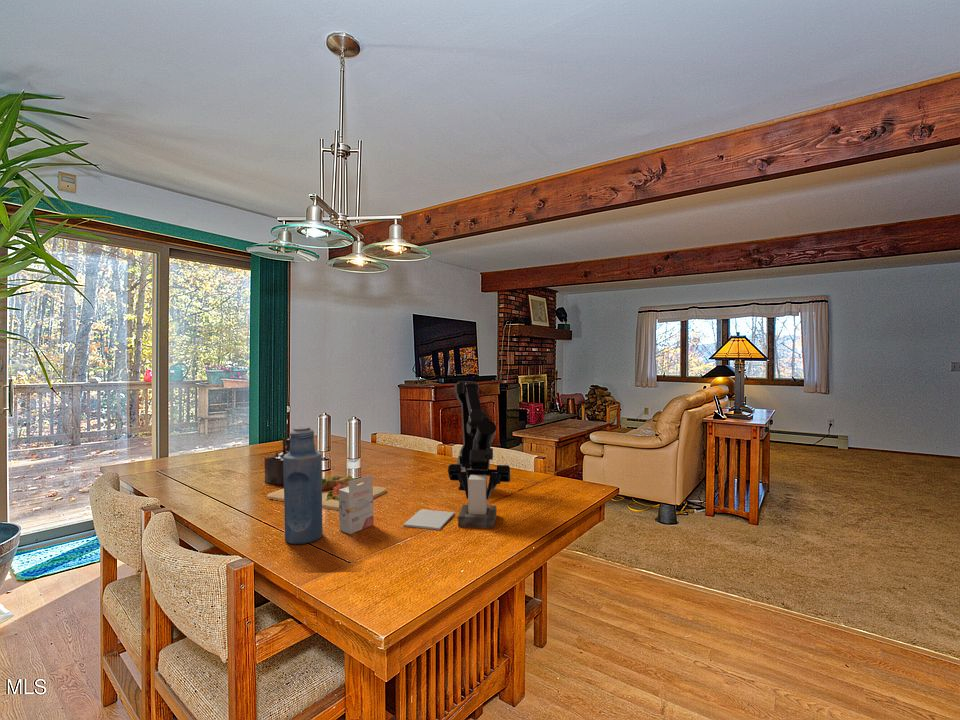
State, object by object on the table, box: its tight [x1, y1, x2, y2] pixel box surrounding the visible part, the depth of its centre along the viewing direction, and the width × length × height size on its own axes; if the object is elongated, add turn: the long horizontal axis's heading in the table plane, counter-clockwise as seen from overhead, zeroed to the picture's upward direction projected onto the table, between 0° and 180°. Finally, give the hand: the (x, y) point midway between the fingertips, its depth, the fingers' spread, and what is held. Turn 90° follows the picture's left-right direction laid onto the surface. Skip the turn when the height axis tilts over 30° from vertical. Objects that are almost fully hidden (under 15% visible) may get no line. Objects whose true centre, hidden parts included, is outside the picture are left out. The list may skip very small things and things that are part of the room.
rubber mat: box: [403, 508, 455, 531], centre depth 138 cm, size 11×13×1 cm
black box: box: [264, 437, 291, 486], centre depth 179 cm, size 16×11×18 cm
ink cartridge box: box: [338, 474, 374, 535], centre depth 132 cm, size 9×5×15 cm, turn 143°
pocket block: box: [457, 504, 497, 529], centre depth 137 cm, size 10×10×3 cm
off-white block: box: [467, 475, 488, 515], centre depth 137 cm, size 5×5×13 cm
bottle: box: [283, 425, 324, 546], centre depth 125 cm, size 10×10×30 cm
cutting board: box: [266, 474, 388, 512], centre depth 163 cm, size 35×23×8 cm
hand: (477, 498), depth 136 cm, fingers open, 6 cm apart
